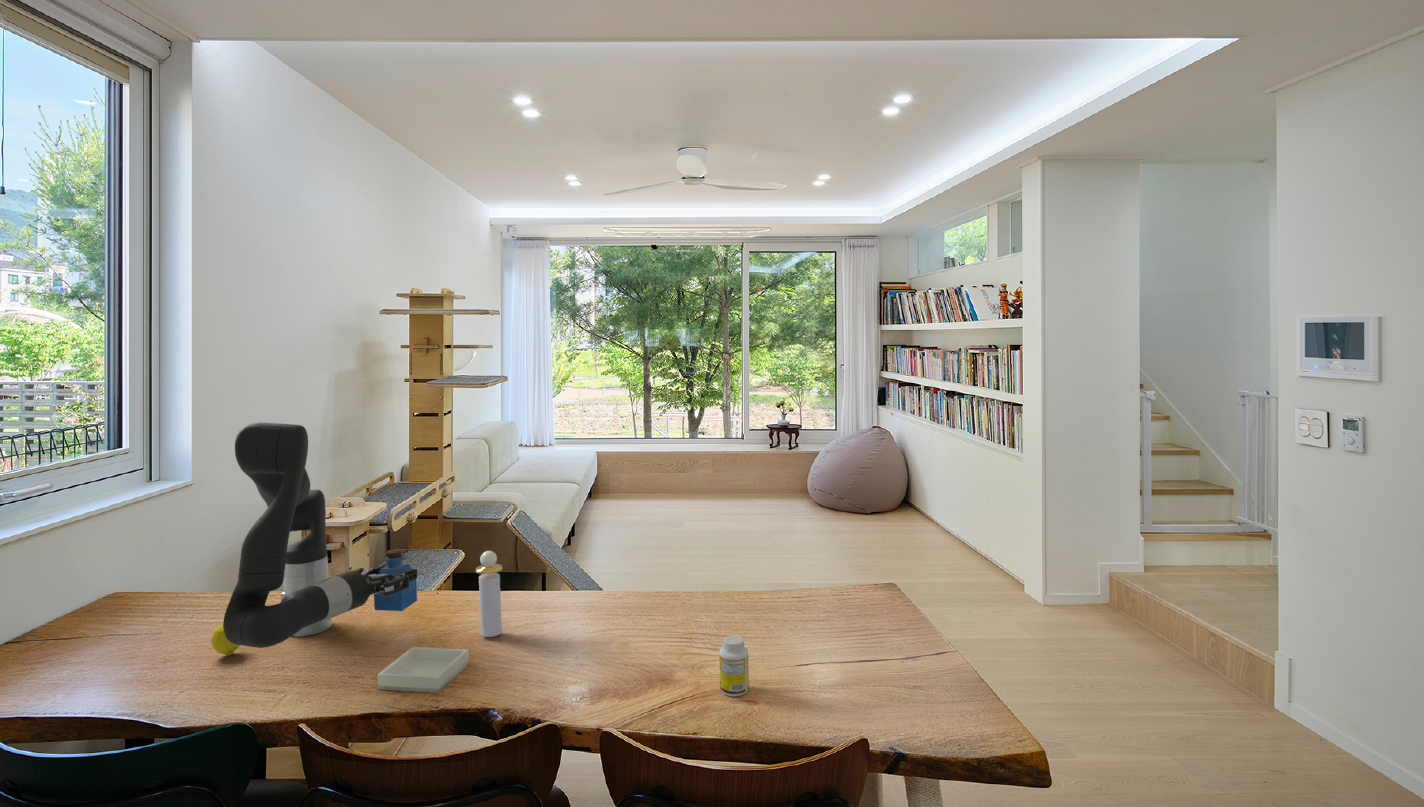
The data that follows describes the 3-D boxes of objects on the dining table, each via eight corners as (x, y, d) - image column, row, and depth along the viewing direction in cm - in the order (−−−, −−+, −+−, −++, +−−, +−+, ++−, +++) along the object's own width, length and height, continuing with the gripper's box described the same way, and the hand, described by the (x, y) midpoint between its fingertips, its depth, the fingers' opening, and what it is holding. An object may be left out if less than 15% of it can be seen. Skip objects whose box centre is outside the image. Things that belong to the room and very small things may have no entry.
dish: (378, 689, 139) (377, 674, 139) (413, 660, 152) (412, 646, 151) (438, 692, 138) (437, 678, 137) (469, 663, 150) (468, 649, 150)
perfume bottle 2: (492, 643, 160) (489, 556, 158) (473, 638, 162) (469, 553, 160) (510, 633, 165) (506, 549, 163) (490, 629, 168) (487, 546, 166)
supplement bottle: (731, 680, 141) (731, 631, 140) (754, 689, 138) (754, 638, 137) (713, 691, 137) (713, 640, 136) (736, 701, 133) (736, 648, 132)
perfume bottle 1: (417, 600, 157) (414, 547, 156) (402, 611, 151) (399, 555, 150) (390, 599, 158) (388, 546, 157) (374, 610, 152) (372, 555, 151)
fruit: (206, 659, 153) (203, 623, 153) (232, 648, 159) (229, 613, 158) (225, 663, 152) (222, 626, 151) (249, 652, 157) (247, 616, 156)
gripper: (362, 581, 138) (426, 557, 153) (310, 572, 143) (377, 550, 158) (364, 618, 139) (427, 591, 154) (312, 608, 144) (378, 583, 159)
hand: (401, 570), depth 156 cm, fingers closed on perfume bottle 1, 7 cm apart
